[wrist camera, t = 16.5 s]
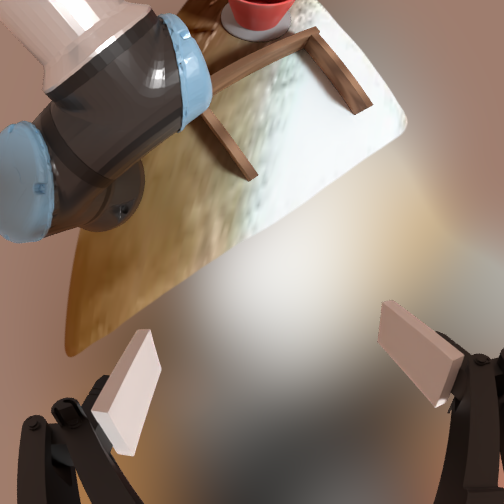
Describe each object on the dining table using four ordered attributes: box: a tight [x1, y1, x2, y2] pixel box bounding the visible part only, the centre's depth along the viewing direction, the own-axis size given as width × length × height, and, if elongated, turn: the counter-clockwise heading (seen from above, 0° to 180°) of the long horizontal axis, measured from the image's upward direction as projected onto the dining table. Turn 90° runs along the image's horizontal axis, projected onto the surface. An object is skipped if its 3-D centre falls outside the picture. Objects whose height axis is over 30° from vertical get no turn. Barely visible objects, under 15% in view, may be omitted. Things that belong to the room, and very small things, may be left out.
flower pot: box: [228, 0, 295, 31], centre depth 28 cm, size 11×11×10 cm
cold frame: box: [200, 26, 373, 181], centre depth 35 cm, size 16×24×5 cm, turn 125°
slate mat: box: [221, 3, 291, 42], centre depth 33 cm, size 12×12×1 cm
